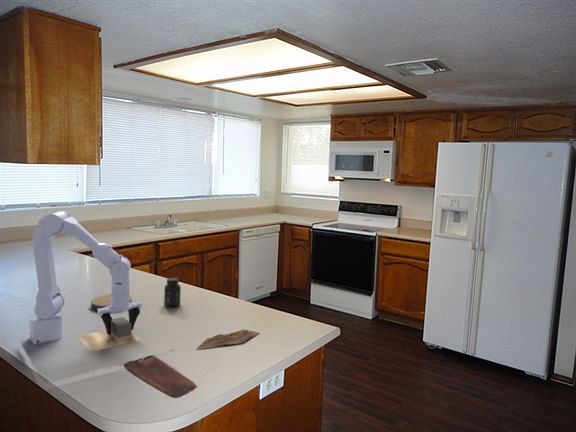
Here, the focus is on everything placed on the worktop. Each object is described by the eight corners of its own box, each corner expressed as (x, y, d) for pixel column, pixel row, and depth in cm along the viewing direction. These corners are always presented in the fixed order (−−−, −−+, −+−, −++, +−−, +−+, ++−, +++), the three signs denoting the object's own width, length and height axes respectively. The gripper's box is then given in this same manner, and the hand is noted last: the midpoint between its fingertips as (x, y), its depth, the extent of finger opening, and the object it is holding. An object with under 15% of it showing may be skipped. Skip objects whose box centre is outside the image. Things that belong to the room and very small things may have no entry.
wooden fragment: (250, 329, 162) (250, 326, 162) (266, 338, 153) (266, 336, 153) (188, 343, 146) (188, 340, 146) (202, 355, 138) (202, 352, 137)
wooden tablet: (202, 383, 117) (171, 392, 110) (201, 391, 117) (170, 400, 110) (152, 353, 135) (122, 359, 127) (151, 360, 135) (121, 366, 127)
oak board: (90, 356, 132) (90, 351, 132) (76, 340, 143) (76, 336, 143) (140, 344, 143) (140, 339, 143) (123, 330, 154) (123, 326, 154)
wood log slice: (106, 299, 189) (106, 292, 189) (138, 303, 186) (138, 296, 185) (82, 310, 174) (82, 303, 173) (117, 314, 170) (117, 307, 170)
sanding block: (118, 340, 141) (118, 326, 141) (109, 333, 147) (109, 319, 147) (131, 337, 144) (131, 323, 144) (122, 330, 150) (122, 317, 150)
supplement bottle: (160, 306, 182) (161, 279, 181) (171, 302, 188) (172, 276, 187) (172, 309, 179) (173, 282, 177) (183, 305, 185) (184, 278, 184)
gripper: (102, 300, 136) (102, 340, 138) (145, 293, 146) (145, 330, 147) (95, 294, 141) (95, 333, 143) (137, 288, 151) (137, 324, 152)
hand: (120, 331), depth 145 cm, fingers open, 7 cm apart
